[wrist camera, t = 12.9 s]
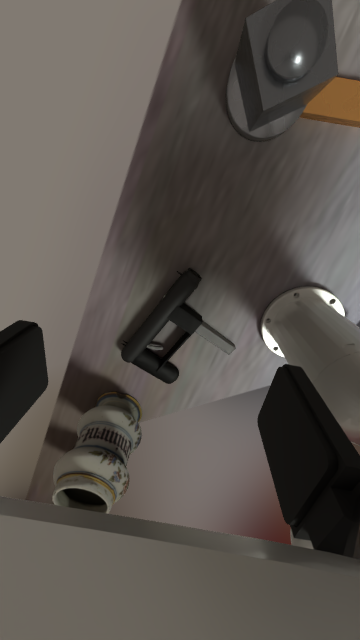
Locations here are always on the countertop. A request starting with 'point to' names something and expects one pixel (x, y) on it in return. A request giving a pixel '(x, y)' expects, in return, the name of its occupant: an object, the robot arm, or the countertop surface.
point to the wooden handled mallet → (328, 106)
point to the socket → (285, 58)
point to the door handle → (182, 317)
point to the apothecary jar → (99, 455)
